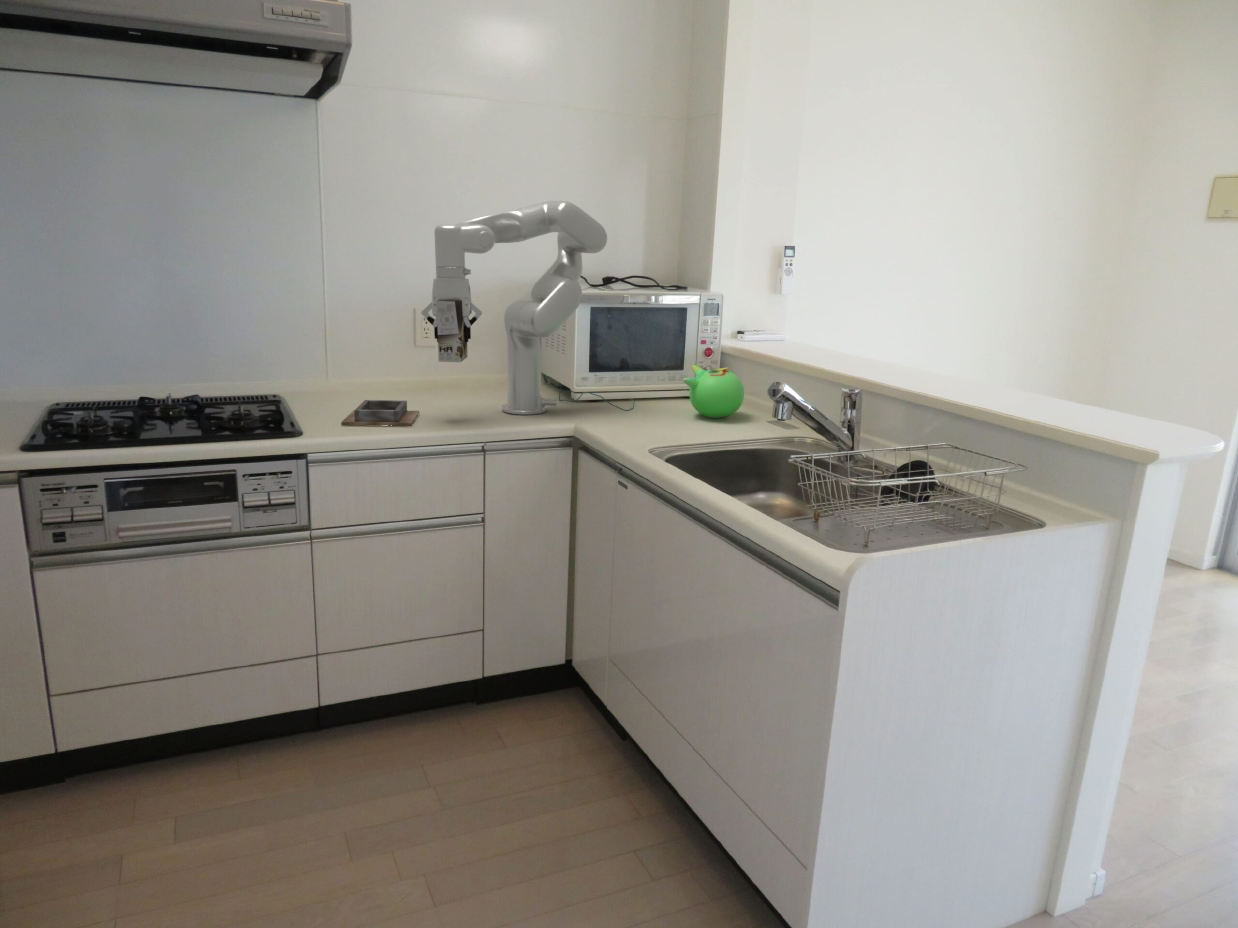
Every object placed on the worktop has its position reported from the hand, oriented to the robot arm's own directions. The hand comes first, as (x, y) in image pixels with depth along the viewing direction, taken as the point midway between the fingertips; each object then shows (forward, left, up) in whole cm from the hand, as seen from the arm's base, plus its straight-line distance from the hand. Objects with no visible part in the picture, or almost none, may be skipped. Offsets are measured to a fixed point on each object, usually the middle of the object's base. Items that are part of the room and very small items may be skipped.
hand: (452, 341), depth 240 cm
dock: (+19, 0, -22) cm, 29 cm away
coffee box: (0, 0, -5) cm, 5 cm away
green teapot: (-74, -11, -22) cm, 78 cm away
